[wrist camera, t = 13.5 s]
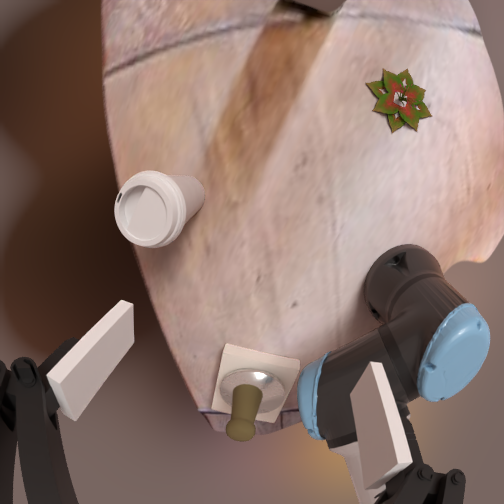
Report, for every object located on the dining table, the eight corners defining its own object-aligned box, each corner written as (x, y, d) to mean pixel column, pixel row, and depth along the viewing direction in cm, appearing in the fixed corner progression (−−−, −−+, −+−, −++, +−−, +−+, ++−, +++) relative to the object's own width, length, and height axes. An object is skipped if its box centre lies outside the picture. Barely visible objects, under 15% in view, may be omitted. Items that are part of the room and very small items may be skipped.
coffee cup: (191, 154, 41) (147, 154, 27) (225, 202, 43) (196, 223, 29) (150, 189, 44) (97, 205, 30) (181, 234, 46) (139, 267, 32)
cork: (254, 406, 51) (247, 448, 40) (227, 396, 51) (216, 437, 40) (268, 391, 49) (263, 435, 38) (240, 379, 48) (230, 424, 38)
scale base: (299, 359, 52) (300, 373, 48) (275, 413, 58) (273, 426, 54) (226, 343, 52) (221, 355, 49) (214, 400, 59) (210, 412, 55)
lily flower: (351, 79, 35) (358, 70, 31) (407, 60, 32) (418, 52, 27) (387, 145, 38) (397, 144, 33) (440, 122, 34) (453, 120, 30)
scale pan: (293, 376, 48) (293, 380, 47) (275, 414, 53) (275, 418, 52) (226, 361, 49) (224, 365, 48) (217, 401, 53) (215, 405, 52)
